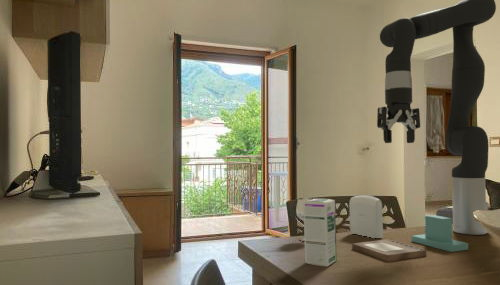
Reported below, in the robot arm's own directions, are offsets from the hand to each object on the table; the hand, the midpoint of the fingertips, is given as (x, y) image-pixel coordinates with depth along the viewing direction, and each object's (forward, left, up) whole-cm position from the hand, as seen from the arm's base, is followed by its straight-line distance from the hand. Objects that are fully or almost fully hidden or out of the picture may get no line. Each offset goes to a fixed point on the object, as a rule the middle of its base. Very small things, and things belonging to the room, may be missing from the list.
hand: (399, 142), depth 116 cm
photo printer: (+7, -7, -28) cm, 30 cm away
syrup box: (+35, +11, -28) cm, 46 cm away
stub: (-2, +11, -28) cm, 30 cm away
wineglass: (+26, -10, -28) cm, 40 cm away
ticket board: (+15, +11, -28) cm, 34 cm away
